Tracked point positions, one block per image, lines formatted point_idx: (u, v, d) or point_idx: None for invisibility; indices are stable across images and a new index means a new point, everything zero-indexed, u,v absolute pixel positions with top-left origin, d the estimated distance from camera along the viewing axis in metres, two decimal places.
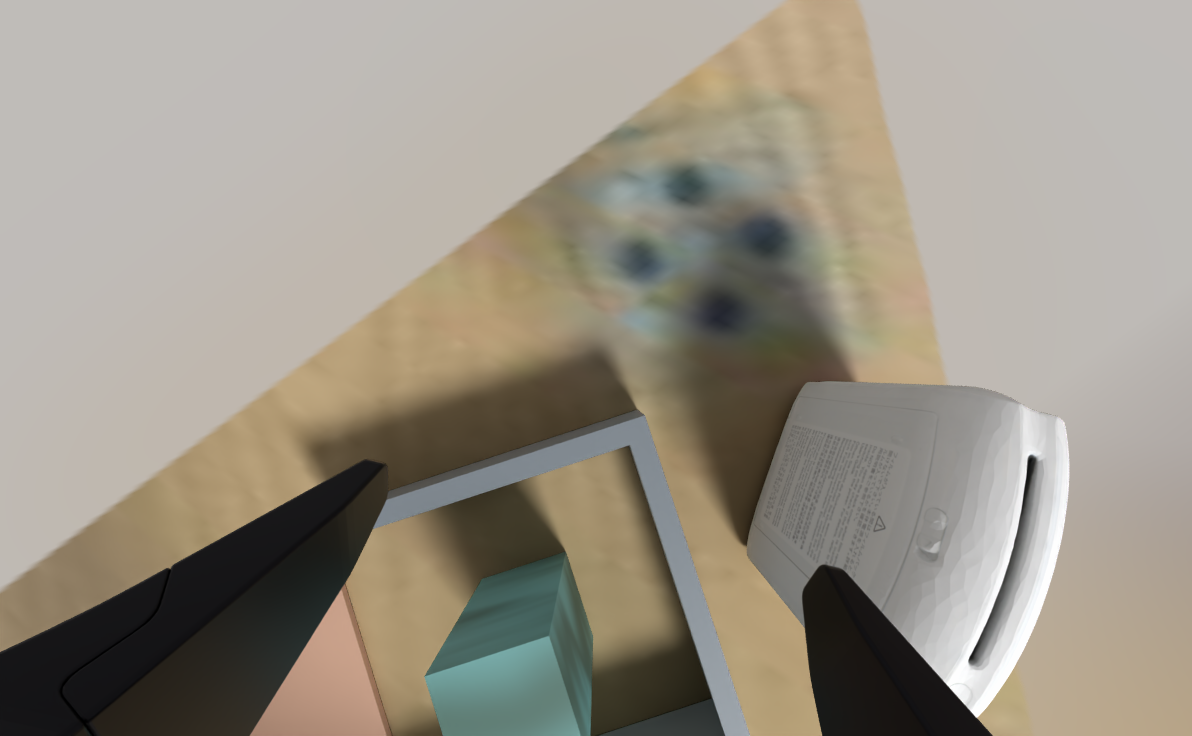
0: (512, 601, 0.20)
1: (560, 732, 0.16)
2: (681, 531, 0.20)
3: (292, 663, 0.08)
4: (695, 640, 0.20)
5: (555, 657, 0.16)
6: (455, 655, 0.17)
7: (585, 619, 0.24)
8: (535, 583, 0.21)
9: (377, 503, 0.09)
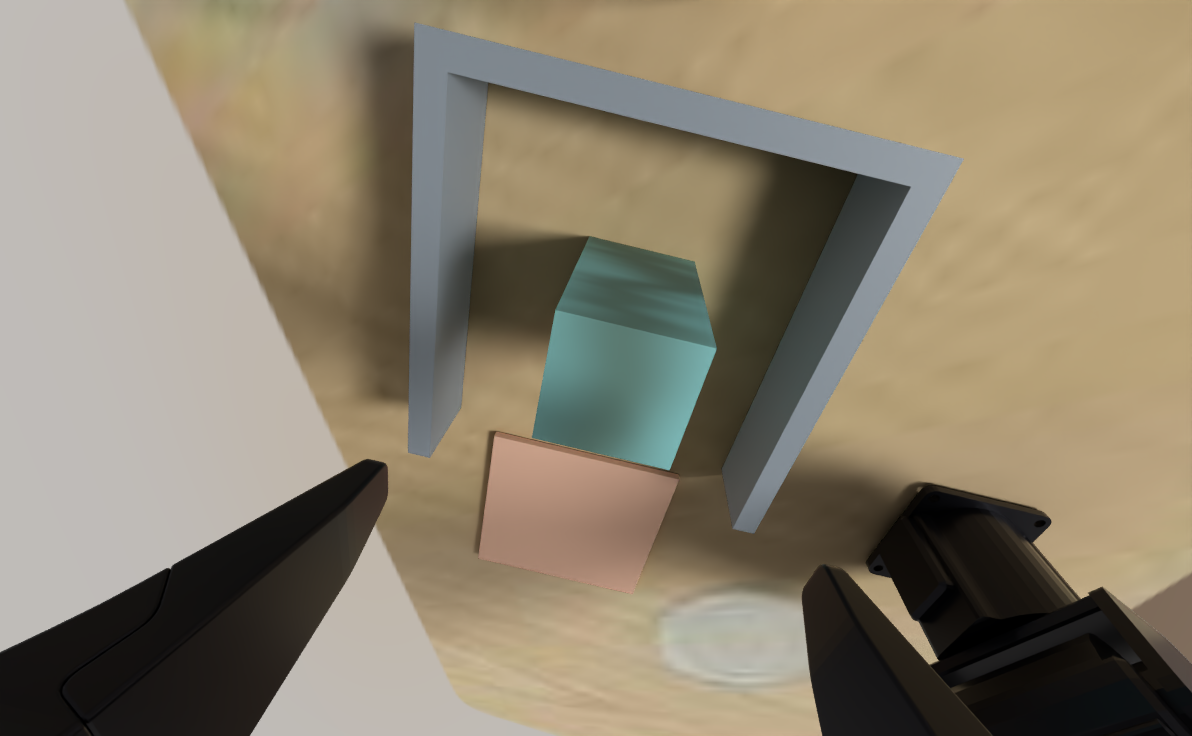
0: None
1: (664, 357, 0.13)
2: (593, 69, 0.13)
3: (292, 663, 0.08)
4: (738, 141, 0.14)
5: (582, 316, 0.13)
6: None
7: (667, 258, 0.19)
8: None
9: (377, 503, 0.09)
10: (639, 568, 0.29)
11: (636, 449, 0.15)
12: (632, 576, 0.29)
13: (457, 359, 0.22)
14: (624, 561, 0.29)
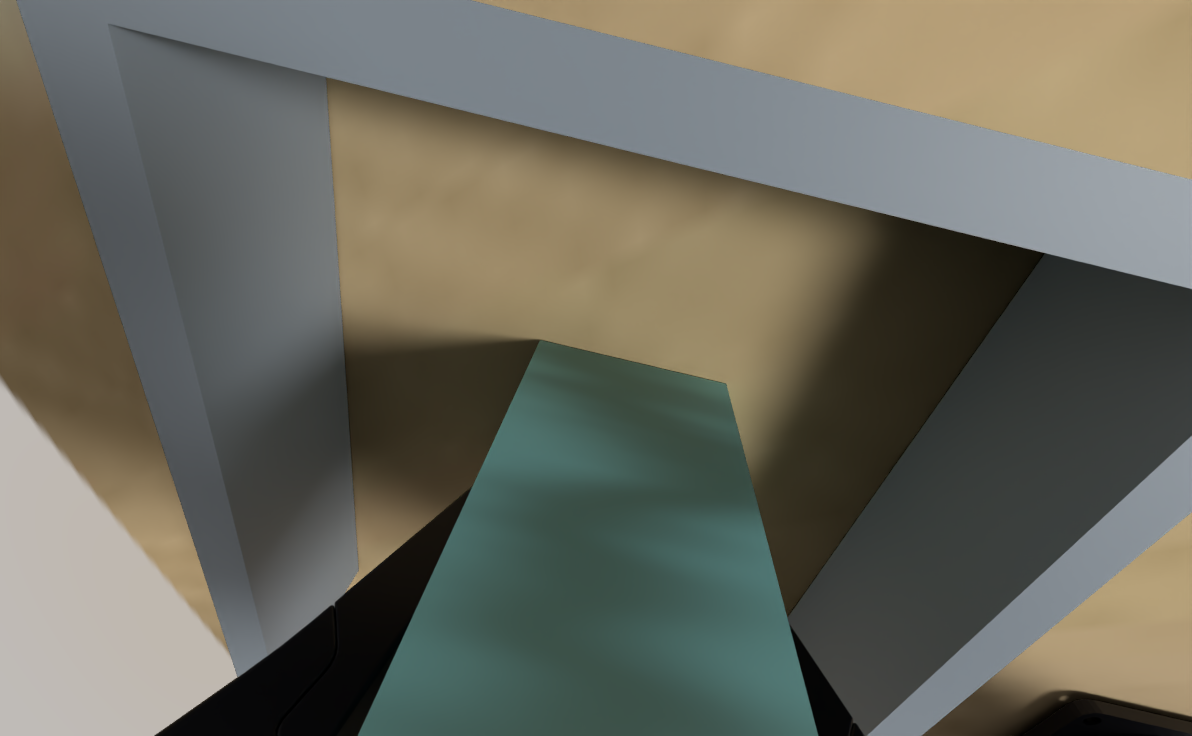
0: None
1: None
2: (486, 11, 0.05)
3: None
4: (875, 205, 0.05)
5: None
6: None
7: (678, 384, 0.11)
8: None
9: None
10: None
11: None
12: None
13: (331, 525, 0.13)
14: None
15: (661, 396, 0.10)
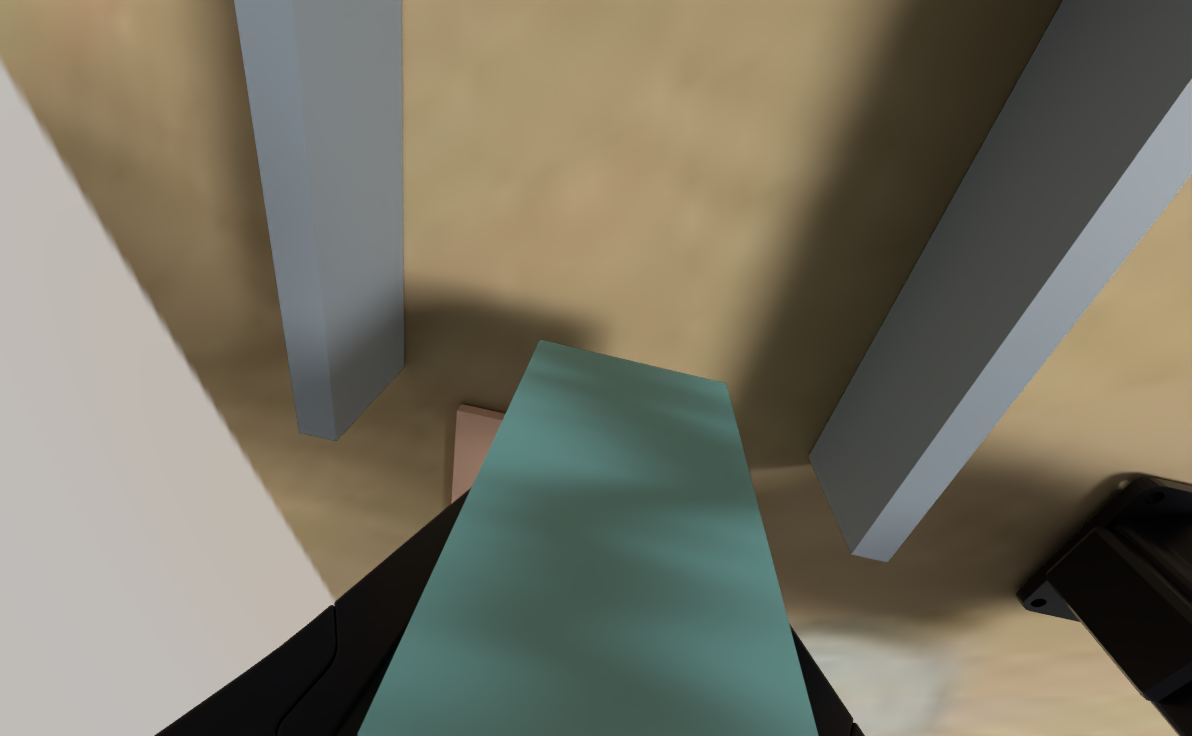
0: None
1: None
2: None
3: None
4: None
5: None
6: None
7: (678, 384, 0.11)
8: None
9: None
10: None
11: None
12: None
13: (384, 277, 0.13)
14: None
15: (661, 395, 0.10)
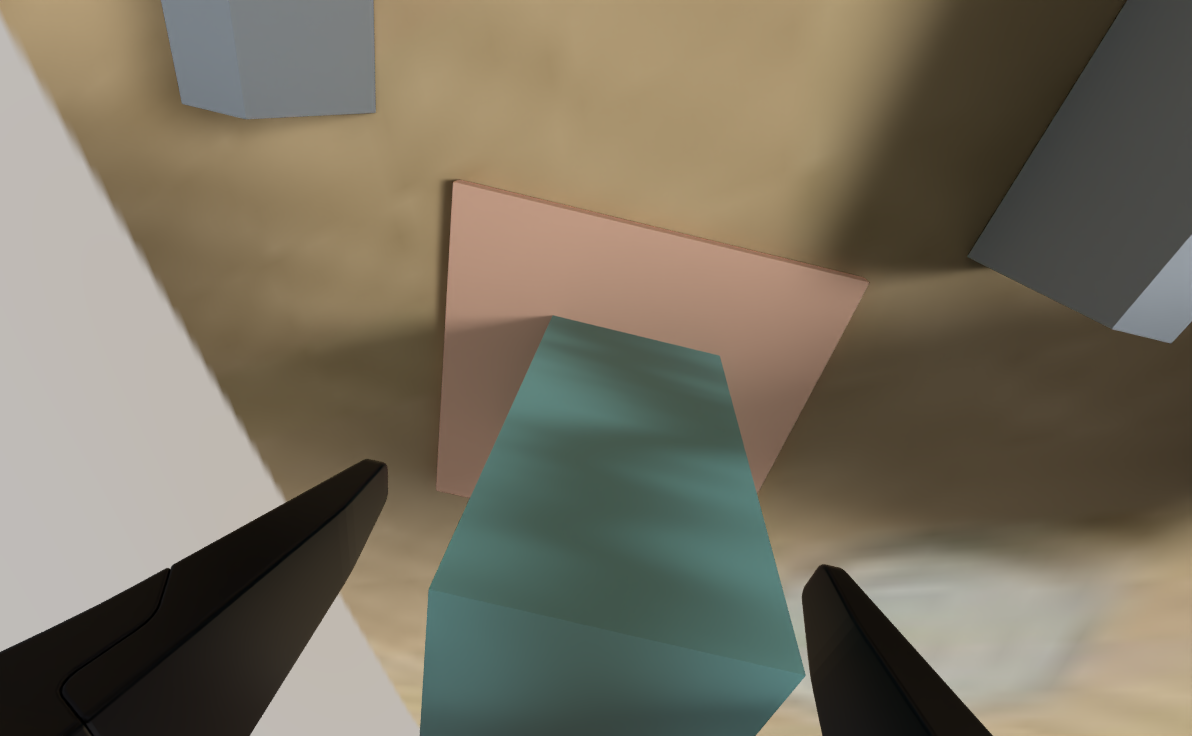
0: None
1: (682, 679, 0.06)
2: None
3: (292, 663, 0.08)
4: None
5: (494, 604, 0.06)
6: None
7: (676, 355, 0.12)
8: None
9: (377, 503, 0.09)
10: None
11: None
12: None
13: None
14: None
15: (661, 363, 0.11)
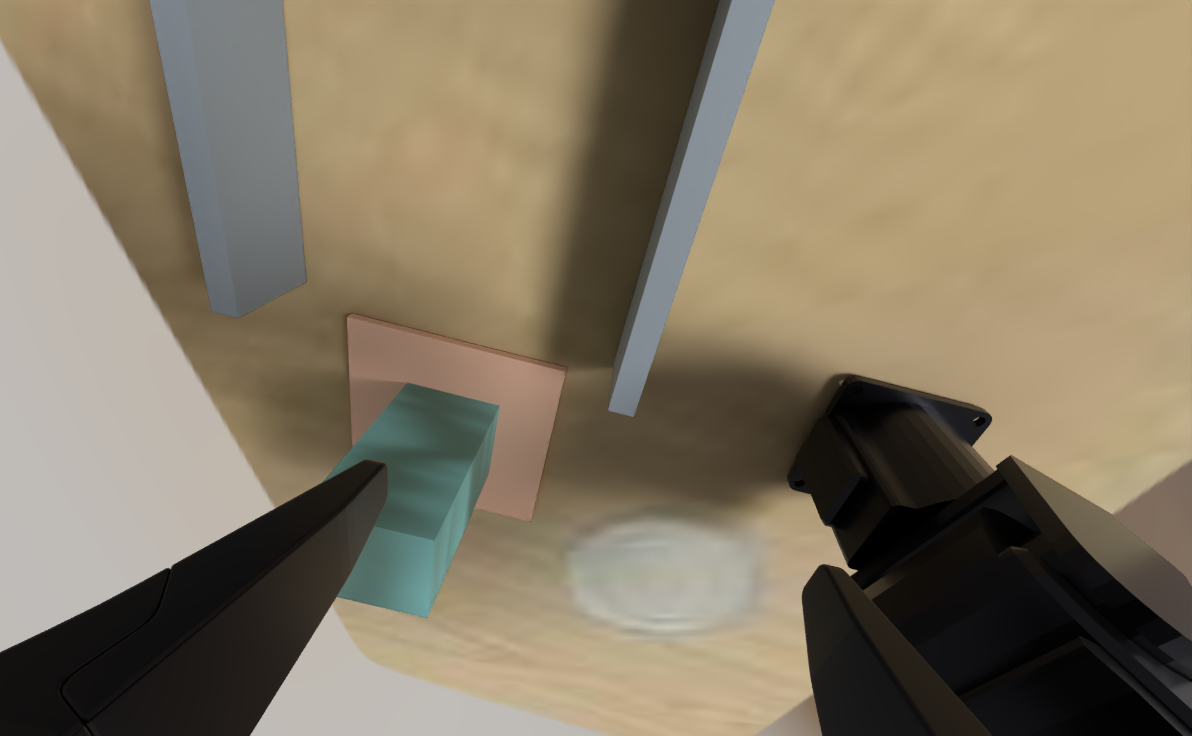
0: None
1: (396, 544, 0.16)
2: None
3: (292, 663, 0.08)
4: None
5: None
6: None
7: (471, 406, 0.22)
8: None
9: (377, 503, 0.09)
10: (534, 488, 0.25)
11: (396, 603, 0.18)
12: (527, 499, 0.26)
13: (280, 204, 0.18)
14: (516, 480, 0.25)
15: (458, 412, 0.22)
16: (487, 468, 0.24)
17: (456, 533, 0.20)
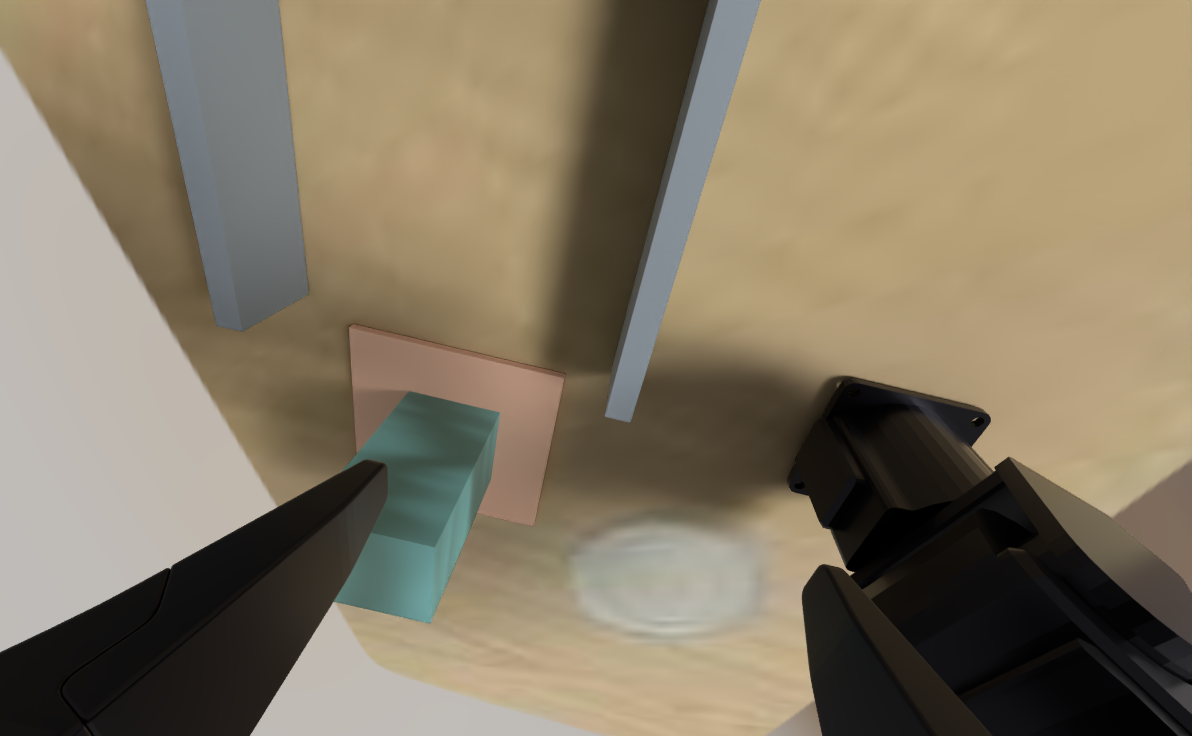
0: None
1: (397, 551, 0.16)
2: None
3: (293, 662, 0.08)
4: None
5: None
6: None
7: (472, 413, 0.23)
8: None
9: (377, 503, 0.09)
10: (536, 493, 0.25)
11: (399, 608, 0.18)
12: (530, 504, 0.26)
13: (281, 219, 0.19)
14: (518, 486, 0.25)
15: (459, 419, 0.22)
16: (489, 474, 0.24)
17: (458, 539, 0.20)
